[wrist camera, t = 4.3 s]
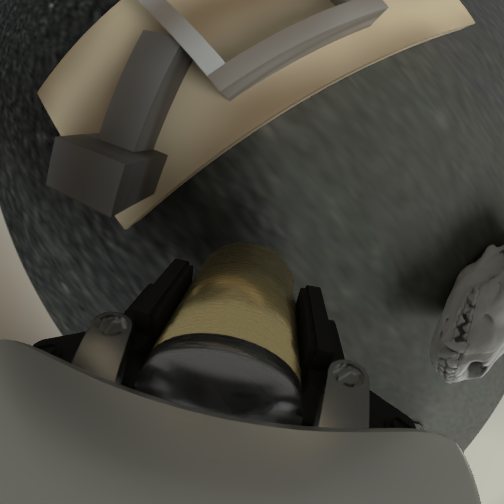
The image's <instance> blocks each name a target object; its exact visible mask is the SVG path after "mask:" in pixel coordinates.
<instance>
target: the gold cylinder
mask: <svg viewBox="0 0 504 504" xmlns="http://www.w3.org/2000/svg"><path fill="white" fill-rule="evenodd" d="M135 390H137V391H140V392H143V393H146V394H149V395H152V396H155V397H158V398H161V399H165V400H168V401H171V402H175V403H178V404H182V405H186V406H189V407H193V408H197V409H201V410H206V411H210V412H214V413H219V414H224V415H229V416H234V417H240V418H245V419H251V420H258V421H265V422H272V423H280V424H289V425H299V426H300V425H301V422H302V418H303V414H302V391H301V372H300V356H299V341H298V328H297V315H296V303H295V292H294V281H293V277H292V273H291V271H290V269H289V267H288V265H287V264H286V263H285V261H284V260H283V259H282V258H281V257H280V256H279V255H278V254H277V253H275V252H274V251H272V250H271V249H269V248H267V247H265V246H262V245H259V244H255V243H249V242H239V243H232V244H228V245H226V246H223V247H221V248H219V249H217V250H216V251H215V252H213V253H212V254H211V255H210V256H209V257H208V258H207V259H206V261H205V262H204V264H203V265H202V267H201V269H200V270H199V272H198V273H197V275H196V277H195V278H194V280H193V282H192V283H191V285H190V286H189V288H188V290H187V291H186V293H185V295H184V296H183V298H182V300H181V301H180V303H179V305H178V306H177V308H176V310H175V311H174V313H173V315H172V316H171V318H170V320H169V321H168V323H167V325H166V326H165V328H164V330H163V331H162V333H161V335H160V337H159V338H158V340H157V342H156V344H155V345H154V347H153V349H152V350H151V352H150V354H149V356H148V357H147V359H146V361H145V363H144V364H143V366H142V368H141V370H140V372H139V373H138V375H137V378H136V380H135Z"/></svg>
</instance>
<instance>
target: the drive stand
mask: <svg viewBox="0 0 504 504" xmlns="http://www.w3.org/2000/svg"><path fill="white" fill-rule="evenodd" d="M472 24H475V22H474V20H473V19H472V17H471V16H470V14H469V13H468V11H467V10H466V8H465V7H464V6H463V4H462V3H461V2H460V0H120V1H119V2H118V3H117V4H116V5H114V6H113V7H112V8H111V9H110V10H109V11H108V12H107V13H105V14H104V15H103V16H102V17H101V18H100V19H99V20H98V21H97V22H96V23H95V24H94V25H93V26H92V27H91V28H90V29H89V30H88V31H87V32H86V33H85V34H84V35H83V36H82V37H81V38H80V39H79V40H78V42H77V43H76V44H75V45H74V46H73V47H72V48H71V49H70V51H69V52H68V53H67V54H66V55H65V56H64V58H63V59H62V60H61V61H60V62H59V64H58V65H57V66H56V68H55V69H54V70H53V71H52V73H51V74H50V75H49V77H48V78H47V79H46V81H45V82H44V84H43V85H42V86H41V88H40V89H39V91H38V92H37V93H38V95H39V97H40V99H41V101H42V103H43V105H44V107H45V109H46V110H47V112H48V114H49V116H50V118H51V119H52V121H53V123H54V125H55V126H56V128H57V130H58V132H59V133H60V135H61V136H58V137H55V141H54V145H53V150H52V154H51V159H50V164H49V170H48V175H47V181H46V185H47V186H49V187H51V188H53V189H55V190H57V191H59V192H61V193H63V194H65V195H67V196H69V197H71V198H72V199H74V200H76V201H78V202H80V203H82V204H84V205H86V206H88V207H90V208H92V209H94V210H96V211H98V212H100V213H102V214H104V215H106V216H108V217H110V218H111V217H113V216H115V217H116V219H117V220H118V221H119V223H120V224H121V225H122V227H123V228H124V229H125V230H126V229H128V228H129V227H131V226H132V225H134V224H135V223H136V222H138V221H139V220H141V219H142V218H143V217H144V216H145V215H147V214H148V213H149V212H150V211H151V210H152V209H153V208H155V207H156V206H157V205H158V204H159V203H160V202H162V201H163V200H164V199H165V198H166V197H168V196H169V195H170V194H171V193H172V192H174V191H175V190H176V189H177V188H179V187H180V186H181V185H182V184H184V183H185V182H186V181H187V180H189V179H190V178H191V177H192V176H194V175H195V174H196V173H198V172H199V171H200V170H202V169H203V168H204V167H205V166H207V165H208V164H209V163H211V162H212V161H213V160H215V159H216V158H218V157H219V156H220V155H222V154H223V153H224V152H226V151H227V150H229V149H230V148H231V147H233V146H234V145H236V144H237V143H238V142H240V141H241V140H243V139H244V138H246V137H247V136H249V135H250V134H252V133H253V132H255V131H256V130H258V129H259V128H261V127H262V126H264V125H265V124H267V123H268V122H270V121H271V120H273V119H274V118H276V117H278V116H279V115H281V114H282V113H284V112H286V111H287V110H289V109H290V108H292V107H294V106H295V105H297V104H299V103H300V102H302V101H304V100H305V99H307V98H309V97H311V96H312V95H314V94H316V93H318V92H319V91H321V90H323V89H325V88H327V87H328V86H330V85H332V84H334V83H336V82H338V81H340V80H341V79H343V78H345V77H347V76H349V75H351V74H353V73H355V72H357V71H359V70H361V69H363V68H365V67H367V66H369V65H371V64H374V63H376V62H378V61H380V60H382V59H384V58H387V57H389V56H391V55H393V54H396V53H398V52H400V51H403V50H405V49H408V48H410V47H413V46H415V45H418V44H420V43H423V42H426V41H428V40H431V39H434V38H437V37H439V36H442V35H445V34H448V33H451V32H455V31H458V30H460V29H463V28H465V27H468V26H470V25H472Z"/></svg>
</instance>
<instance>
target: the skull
mask: <svg viewBox="0 0 504 504" xmlns="http://www.w3.org/2000/svg"><path fill="white" fill-rule="evenodd" d="M470 306H473V308H471V307H470ZM459 353H460V357H459V358H458V360H451V359H450V358H453V357H455V356H457V355H458V354H459ZM503 353H504V245H502V246H500V247H496V246H495V245H489V246H488V247H487V248H486V250H485V252H484V253H483V255H482V256H481V257H480V258H479V259H478V260H477V261H476V262H475V263H472V264H470V265H468V266H466V267H465V268H464V269H462V270H461V272H460V273H459V274H458V276H457V278H456V281H455V284H454V286H453V288H452V291H451V293H450V295H449V297H448V299H447V302H446V304H445V307H444V310H443V312H442V315H441V317H440V320H439V322H438V324H437V326H436V329H435V332H434V335H433V338H432V344H431V350H430V356H431V361H432V363H433V365H434V368H435V370H436V371H437V372H438V374H439V376H440V377H441V378H443V379H444V381H445V382H447V383H452V382H460V381H462V380H466V379H475V378H481V377H483V376H484V375H485V374H486V373H487V372H488V370H489V369H490V368H491V366H492V365H493V364H494V362H495V361H496V360H497V359H498V358H499V357H500V356H501V355H502V354H503ZM448 365H449V366H450V367H449V368H448Z"/></svg>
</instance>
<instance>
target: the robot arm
mask: <svg viewBox="0 0 504 504" xmlns="http://www.w3.org/2000/svg"><path fill="white" fill-rule="evenodd" d="M192 276H193V266H191V265H189V261H184V260H180V259H175V260H174V261H173V262H172V263H171V264H170V265H169V267H168V268H167V269H166V270H165V271H164V272H163V274H162V275H161V276H160V277H159V278H158V279H157V281H156V282H155V283H154V284H149V285H148V286H147V287H146V288H145V289H144V290H143V291H142V293H141V294H140V295H139V296H138V297H137V298H136V300H135V301H134V302H133V303H132V304H131V305H130V307H129V308H128V309H127V310H126V311H125V313H124V314H122V313H119V312H105V313H102V314H99V315H98V316H96V317H95V318H94V319H93V321H92V322H91V324H90V326H89V328H88V330H87V331H86V332H81V333H76V334H71V335H65V336H60V337H55V338H49V339H44V340H41V341H39V342H37V343H35V344H34V345H33V346H31V345H28V344H25V343H21V342H18V341H13V340H8V339H0V504H481V502H480V497H479V494H478V490H477V487H476V484H475V480H474V477H473V474H472V471H471V469H470V467H469V464H468V462H467V459H466V457H465V455H464V453H463V450H462V449H461V447H460V446H459V445H458V444H457V443H456V442H455V441H454V440H452V439H451V438H449V437H447V436H445V435H443V434H440V433H436V432H432V431H428V430H423V427H422V426H421V425H420V424H416V423H414V422H413V421H412V420H411V419H410V418H409V417H408V416H407V415H405V414H404V413H402V412H401V411H399V410H398V409H396V408H395V407H393V406H392V405H390V404H389V403H388V402H386V401H385V400H383V399H382V398H380V397H379V396H377V395H376V394H375V393H373V392H372V391H370V390H369V376H368V373H367V372H366V370H365V369H364V368H363V367H362V366H361V365H359V364H357V363H356V362H353V361H350V360H345V359H344V355H343V351H342V347H341V343H340V339H339V335H338V332H337V328H336V324H335V322H334V321H333V320H328V316H327V312H326V308H325V304H324V300H323V296H322V292H321V289H320V287H314V286H309V285H307V286H306V288H301V289H300V292H299V296H298V299H297V302H296V315H297V328H298V341H299V356H300V372H301V391H302V414H303V418H302V422H301V425H300V426H299V425H289V424H280V423H272V422H265V421H258V420H251V419H245V418H240V417H234V416H229V415H224V414H219V413H214V412H210V411H206V410H201V409H197V408H193V407H189V406H186V405H182V404H178V403H175V402H171V401H168V400H165V399H161V398H158V397H155V396H152V395H149V394H146V393H143V392H140V391H137V390H135V380H136V378H137V375H138V373H139V372H140V370H141V368H142V366H143V364H144V363H145V361H146V359H147V357H148V356H149V354H150V352H151V350H152V349H153V347H154V345H155V344H156V342H157V340H158V338H159V337H160V335H161V333H162V331H163V330H164V328H165V326H166V325H167V323H168V321H169V320H170V318H171V316H172V315H173V313H174V311H175V310H176V308H177V306H178V305H179V303H180V301H181V300H182V298H183V296H184V295H185V293H186V291H187V290H188V288H189V286H190V285H191V283H192Z"/></svg>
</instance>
